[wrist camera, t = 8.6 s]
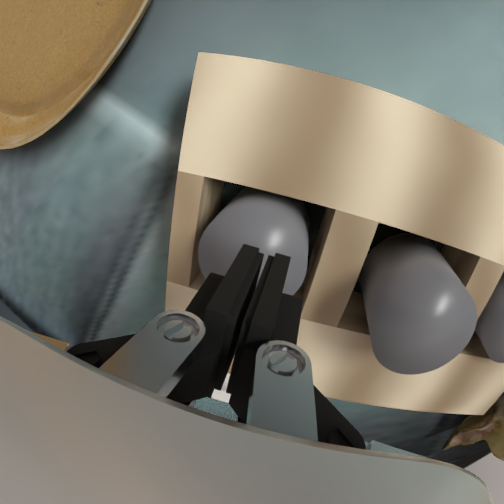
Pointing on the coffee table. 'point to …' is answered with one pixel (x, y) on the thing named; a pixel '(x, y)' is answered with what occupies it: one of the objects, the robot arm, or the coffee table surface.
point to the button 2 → (493, 324)
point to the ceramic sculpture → (482, 430)
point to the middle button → (415, 305)
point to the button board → (346, 210)
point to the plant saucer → (56, 58)
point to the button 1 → (258, 234)
